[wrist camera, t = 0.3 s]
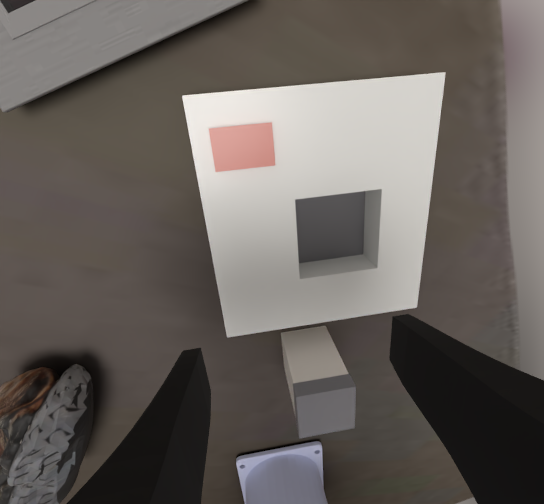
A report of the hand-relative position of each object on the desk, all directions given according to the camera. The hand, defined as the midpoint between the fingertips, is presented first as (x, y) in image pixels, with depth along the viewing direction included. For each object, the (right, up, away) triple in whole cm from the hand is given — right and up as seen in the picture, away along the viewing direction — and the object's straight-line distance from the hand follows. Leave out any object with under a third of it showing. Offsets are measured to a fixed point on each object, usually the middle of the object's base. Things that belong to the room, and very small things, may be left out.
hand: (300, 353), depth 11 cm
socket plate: (+2, +6, +8) cm, 11 cm away
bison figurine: (-19, -7, +12) cm, 24 cm away
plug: (+2, -4, +13) cm, 13 cm away
